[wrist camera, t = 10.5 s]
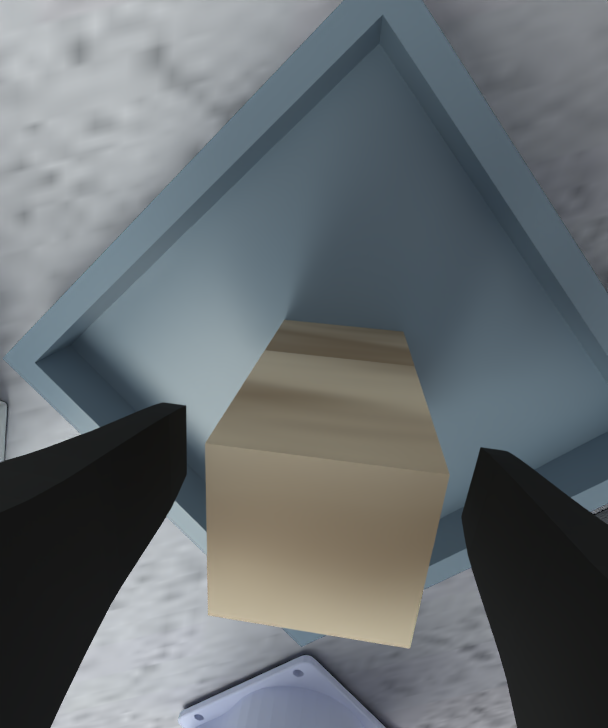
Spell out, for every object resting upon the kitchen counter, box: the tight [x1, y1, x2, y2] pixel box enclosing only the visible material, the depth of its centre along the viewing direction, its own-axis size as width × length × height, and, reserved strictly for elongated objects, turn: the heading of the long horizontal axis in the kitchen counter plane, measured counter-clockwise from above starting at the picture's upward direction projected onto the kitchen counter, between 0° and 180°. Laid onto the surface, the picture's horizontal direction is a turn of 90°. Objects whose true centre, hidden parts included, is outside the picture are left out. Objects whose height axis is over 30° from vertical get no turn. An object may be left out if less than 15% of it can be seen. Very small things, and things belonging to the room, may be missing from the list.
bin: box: [3, 0, 608, 647], centre depth 15 cm, size 16×16×2 cm
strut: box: [205, 320, 450, 649], centre depth 11 cm, size 4×4×8 cm
